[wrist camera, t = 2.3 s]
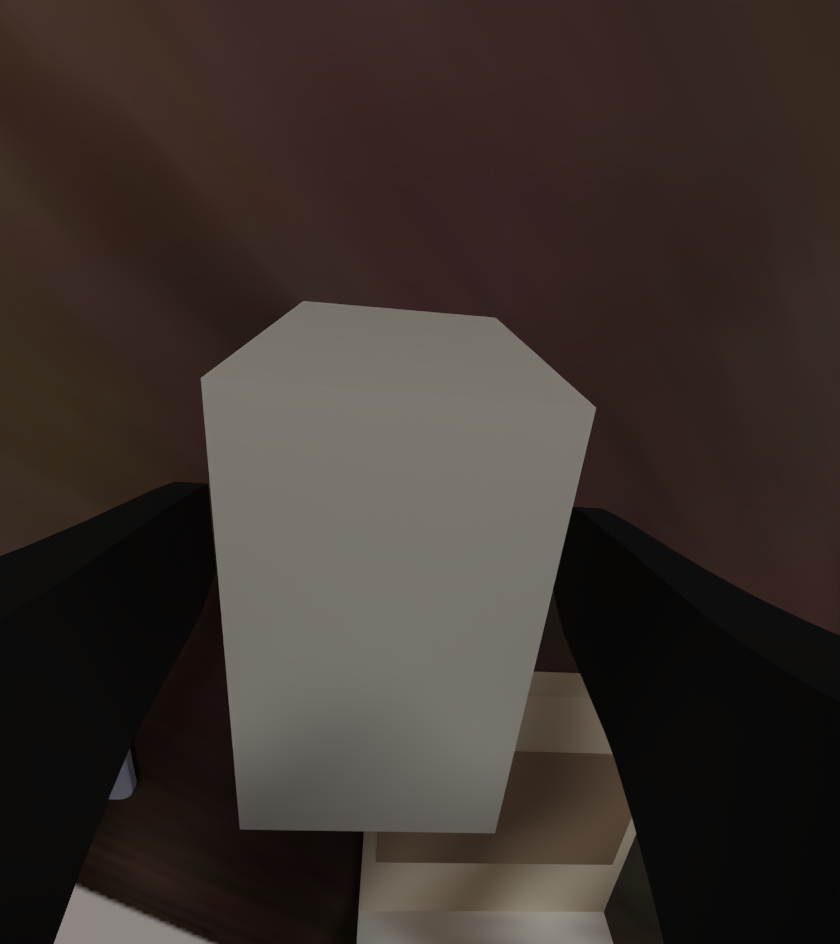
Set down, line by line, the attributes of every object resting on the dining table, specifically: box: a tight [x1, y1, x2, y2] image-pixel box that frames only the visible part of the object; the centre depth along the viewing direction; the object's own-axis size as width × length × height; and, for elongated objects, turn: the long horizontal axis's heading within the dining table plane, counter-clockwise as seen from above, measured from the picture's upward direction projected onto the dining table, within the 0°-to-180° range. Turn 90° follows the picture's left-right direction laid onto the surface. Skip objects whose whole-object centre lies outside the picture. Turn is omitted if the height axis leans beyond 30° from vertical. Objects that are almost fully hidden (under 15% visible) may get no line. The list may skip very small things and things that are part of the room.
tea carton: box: [201, 301, 596, 833], centre depth 11 cm, size 5×8×7 cm, turn 175°
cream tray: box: [357, 672, 636, 944], centre depth 18 cm, size 10×13×4 cm
